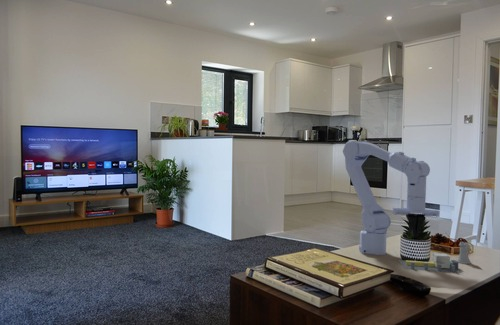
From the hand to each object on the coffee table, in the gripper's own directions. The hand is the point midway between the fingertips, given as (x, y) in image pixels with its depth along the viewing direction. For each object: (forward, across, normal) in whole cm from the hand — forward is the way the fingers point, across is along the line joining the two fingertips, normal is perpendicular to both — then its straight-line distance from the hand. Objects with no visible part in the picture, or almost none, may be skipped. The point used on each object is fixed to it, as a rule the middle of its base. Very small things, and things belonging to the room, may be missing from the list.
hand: (414, 236), depth 126 cm
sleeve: (+9, +7, -4) cm, 12 cm away
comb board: (+10, +4, -4) cm, 11 cm away
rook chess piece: (+10, +17, +4) cm, 20 cm away
